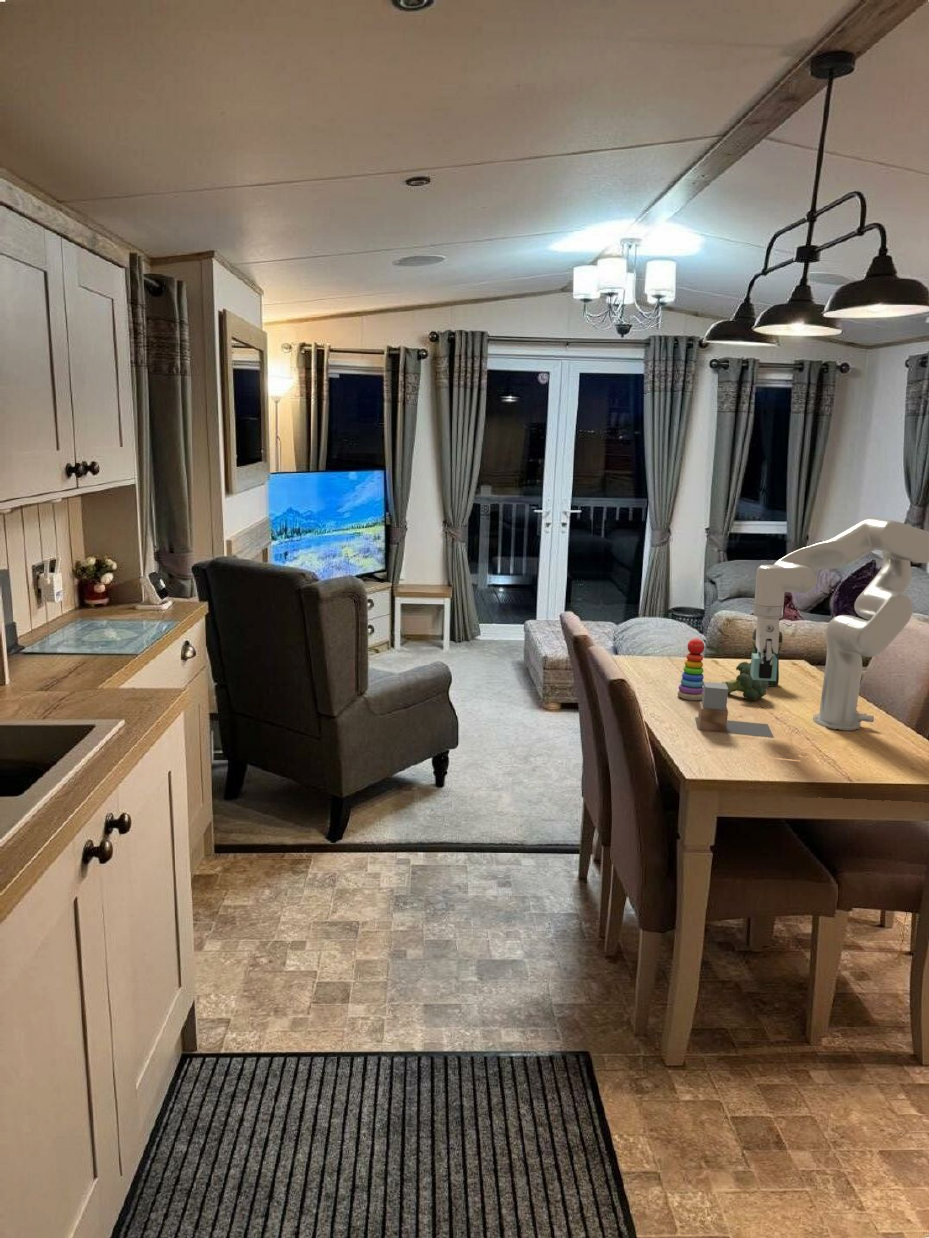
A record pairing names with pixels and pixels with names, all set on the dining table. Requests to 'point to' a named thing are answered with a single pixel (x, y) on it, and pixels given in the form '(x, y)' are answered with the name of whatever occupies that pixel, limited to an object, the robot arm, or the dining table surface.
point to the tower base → (712, 719)
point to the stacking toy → (693, 672)
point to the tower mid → (714, 696)
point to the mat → (745, 728)
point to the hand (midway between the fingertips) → (763, 674)
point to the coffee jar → (755, 650)
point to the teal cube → (756, 664)
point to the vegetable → (747, 683)
